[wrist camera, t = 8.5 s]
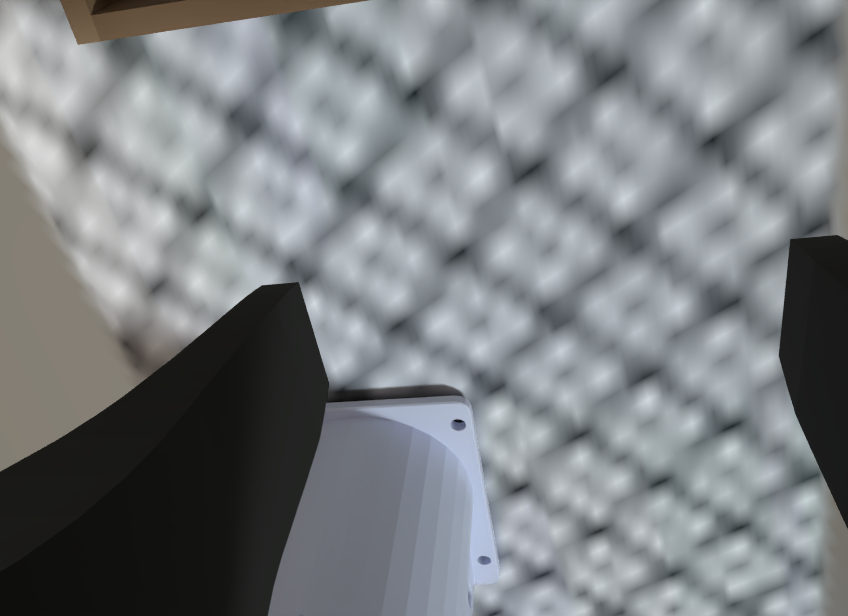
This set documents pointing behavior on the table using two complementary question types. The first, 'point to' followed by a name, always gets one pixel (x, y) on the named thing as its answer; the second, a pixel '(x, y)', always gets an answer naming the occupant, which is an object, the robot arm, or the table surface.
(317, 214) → the table surface
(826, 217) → the table surface
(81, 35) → the wooden tray
